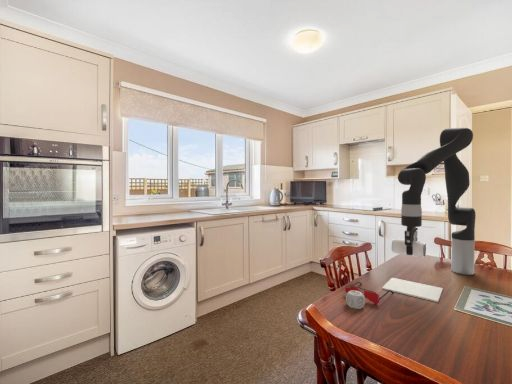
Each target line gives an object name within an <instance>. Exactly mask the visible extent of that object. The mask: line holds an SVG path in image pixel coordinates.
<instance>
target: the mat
mask: <svg viewBox="0 0 512 384" xmlns="http://www.w3.org/2000/svg"><path fill="white" fill-rule="evenodd" d="M381 289H382V290H385V291H387V292H388V291H389V290H391V291H392V292H393V293H398V294H401V295H406V296H409V297H414V298H418V299H422V300H427V301H430V302H434V303H439V301H440V298H441V296H442V294H443V293H442V292H443V290H444V288H443V287H439V286H434V285H431V284H430V285H429V284H424V283H419V282H415V281H411V280H405V279H401V278H396V277H391V278H390V279H389V280H388V281H387V282H386V283H385V284H383V286H382V287H381ZM391 291H390V292H391ZM392 292H391V293H392Z"/></svg>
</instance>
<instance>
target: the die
mask: <svg viewBox="0 0 512 384" xmlns="http://www.w3.org/2000/svg"><path fill="white" fill-rule="evenodd" d="M359 291H360V290H359ZM359 291H355V290H352V291H349V292H348V293H346V295H345V302H346V304H347V305H348V307H350V309H355V310H360V309H363V308H364V307H365V305H366V298H365V297H364V293H362V292H361V291H360V292H359Z"/></svg>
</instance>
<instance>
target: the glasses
mask: <svg viewBox="0 0 512 384" xmlns="http://www.w3.org/2000/svg"><path fill="white" fill-rule="evenodd" d="M357 284H359V285H361V286H362V285H363V284H362V283H361V281H357V282H355V283H354V284H352V285H349V284H348V285H347V286H346V287H345V288H344V291H345V293H346V294H347V293H348V292H349V291H352V290H355V291H359V292H361V291H360V290H363V295H364V297H365V299H367V300H368V301H370V302H371V303H373V304H374V305H378V304H379V303H380V300H381V299H382V298H383V297H385V296H386V295H387V294H389V293H390V292H391V294H394V292H392V291H391V290H389V291H388V290H387V291H386V293H384V294H383V295H382V296H380V295H379V294H378V293H377V292H374V291H372V290H369V289H365V288H362V287H358V286H356V285H357Z"/></svg>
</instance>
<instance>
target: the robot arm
mask: <svg viewBox="0 0 512 384" xmlns="http://www.w3.org/2000/svg"><path fill="white" fill-rule="evenodd" d="M473 138H474V133H473V130H472V129H470V128H468V127H449V128H444V129H443V130H442V131H441V133H440V135H439V147H437V148H434V149H432V150H430V151H428V152H426V153H425V154H423V155H422V156H421V157H420V158H418V160H417V161H415V162H413V163H411V164H409V165H407V166H405V167H404V168H402V169H401V170H400V171H399V173H398V175H397V182H399V183H400V184H401V185H404V186H409V189H407V190H404V191H402V194H401V213H400V215H401V217H400V218H401V219H400V220H401V221H400V222H401V226H404V227H406V229H405V231H404V240H405V245H406V254H407V255H406V256H410V255H412V254H413V242H414V241H418V230H419V229H418V228H419V227H422V225H423V224H422V223H423V220H422V219H423V218H422V217H423V215H422V214H423V211H422V210H423V209H422V193H423V190H424V187H425V184H426V179H427V176H426V175H427V174H429V173H431V172H433V170H435V168H437V166H439V165H440V164H442V163H443V165H444V167H443V168H444V180H445V181H444V182H445V187H446V188H445V189H446V194H447V219H448V223H449V224H450V225H454V226H462V227H463V226H465V228H463V229H461V230H457V231H453V232H452V233H451V234H450V235H451V237H450V238H451V240H450V241H451V246H450V248H451V250H450V251H451V254H450V255H451V256H450V257H451V259H450V261H451V263H450V265H451V266H450V267H451V269H450V271H451V272H453V273H456V274H460V275H464V276H465V275H466V276H472V275H475V251H476V250H475V248H476V247H475V245H476V244H475V240H476V239H475V238H476V237H475V235H476V234H475V228H476V210H475V209H474V208H472V207H461V206H460V207H459V206H458V207H457V203H458V201H459V200H460V199H461V197H462V196H463V195H464V194H465V193H466V192H467V190H468V189H469V188H470V182H471V181H470V172H469V170H468V169H467V167H466V166H465V164H464V163H463V162H462V161H461V160H460V159H459V157H458V156H457V154H458V153H459V152H461V151H463V150H465V149H466V148H467V147H469V146H470V145H471V143H472V142H473ZM408 241H410V243H409V242H408Z"/></svg>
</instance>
